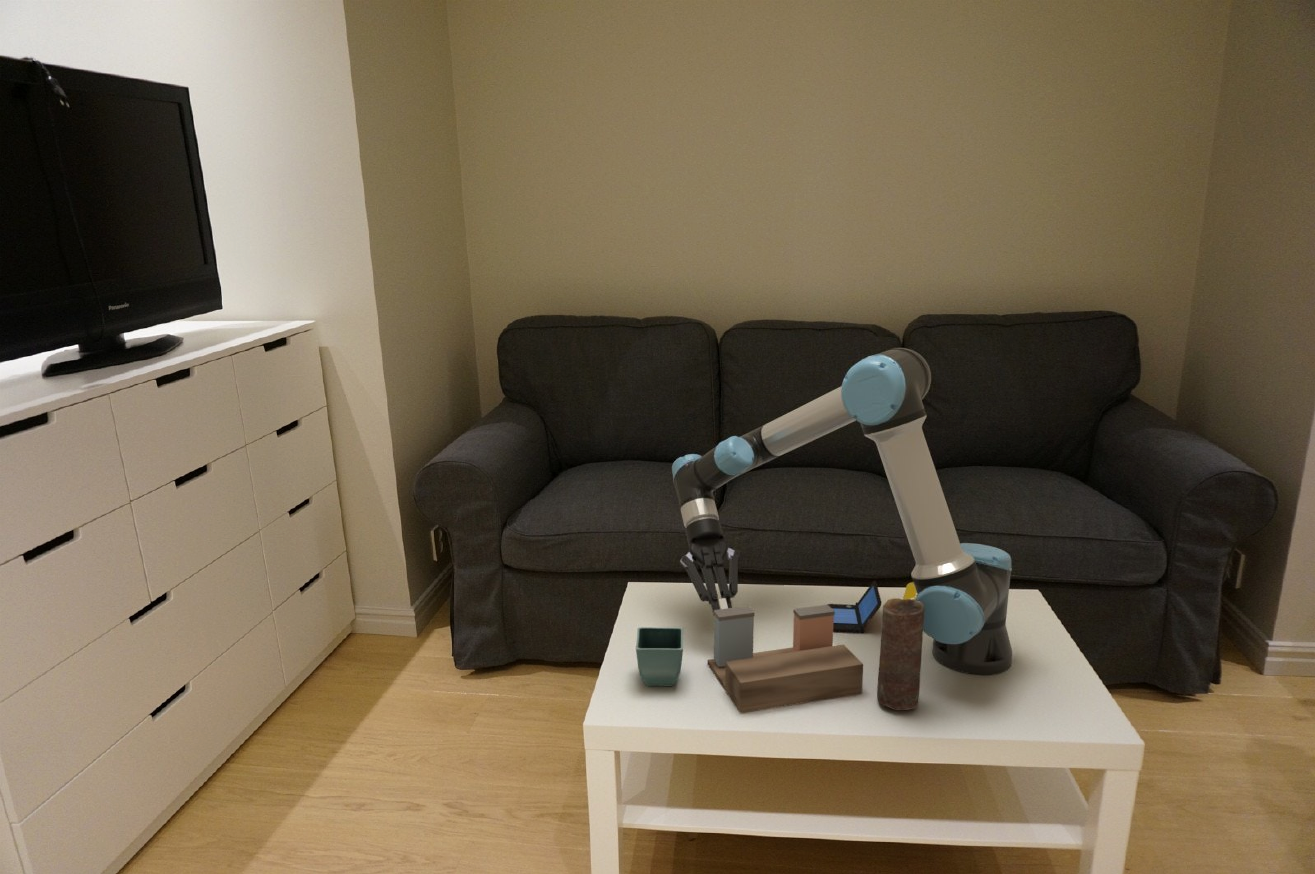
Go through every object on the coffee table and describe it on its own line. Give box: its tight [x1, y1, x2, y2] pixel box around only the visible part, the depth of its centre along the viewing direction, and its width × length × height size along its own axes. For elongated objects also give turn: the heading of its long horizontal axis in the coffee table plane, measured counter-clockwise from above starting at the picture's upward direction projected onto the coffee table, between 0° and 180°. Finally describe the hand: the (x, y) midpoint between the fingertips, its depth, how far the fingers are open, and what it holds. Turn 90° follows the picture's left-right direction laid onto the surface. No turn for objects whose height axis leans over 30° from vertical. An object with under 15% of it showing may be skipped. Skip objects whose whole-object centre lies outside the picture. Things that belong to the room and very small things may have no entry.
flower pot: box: [635, 626, 684, 687], centre depth 175 cm, size 9×9×9 cm
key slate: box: [713, 605, 755, 667], centre depth 179 cm, size 3×7×11 cm, turn 105°
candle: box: [876, 597, 925, 711], centre depth 164 cm, size 8×7×20 cm
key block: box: [707, 644, 864, 714], centre depth 175 cm, size 18×24×6 cm
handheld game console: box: [826, 580, 882, 635], centre depth 199 cm, size 12×11×7 cm
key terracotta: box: [792, 604, 835, 652], centre depth 179 cm, size 3×7×11 cm, turn 105°
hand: (727, 631), depth 182 cm, fingers closed
